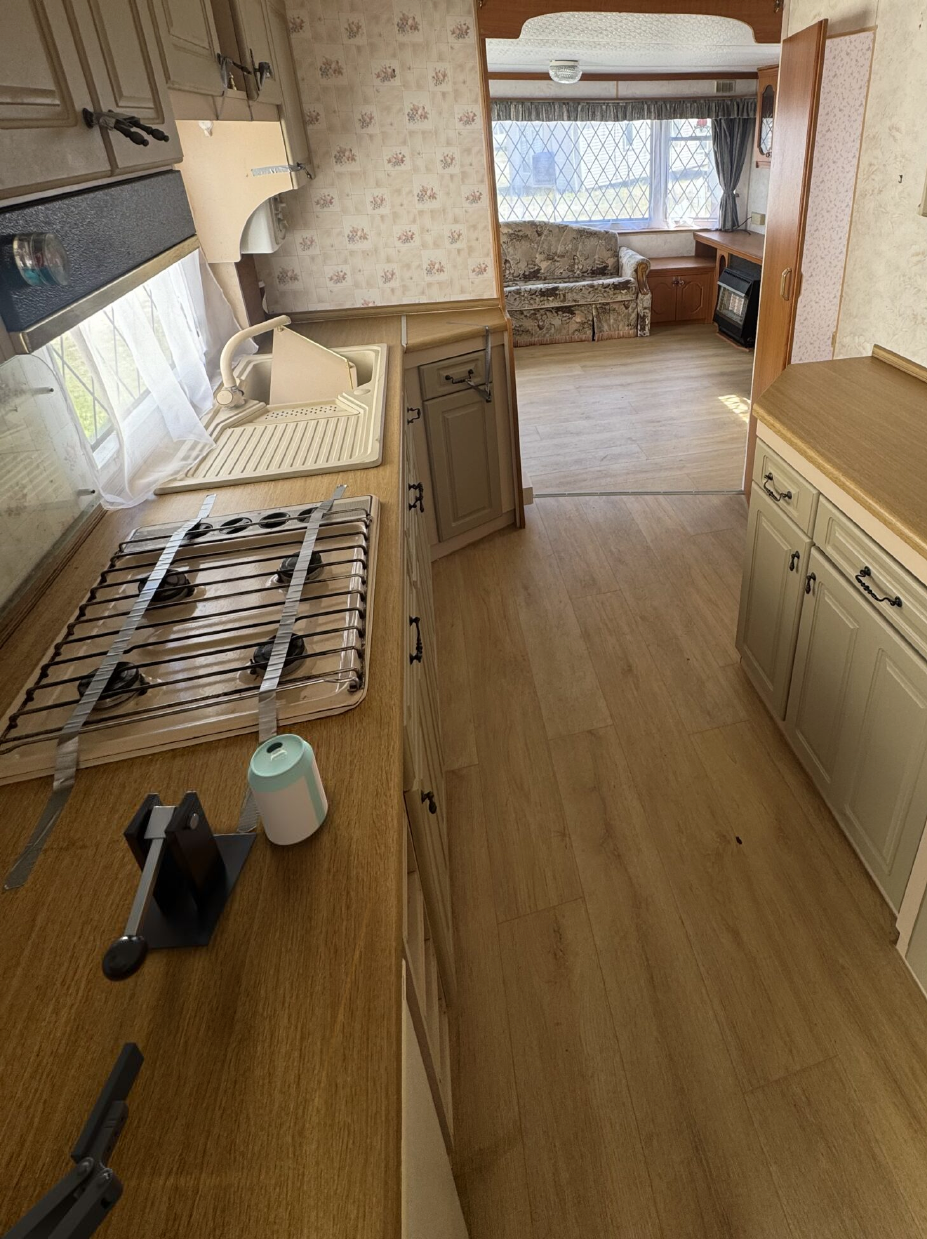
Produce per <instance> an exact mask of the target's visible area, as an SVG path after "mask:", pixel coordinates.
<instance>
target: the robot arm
mask: <svg viewBox="0 0 927 1239" xmlns="http://www.w3.org/2000/svg"><path fill="white" fill-rule="evenodd" d="M145 1060H146V1058H145V1056H144V1055H143V1053H142V1051H141V1049H140V1048H139V1046H138V1045H137V1043H136V1041H129V1042H128V1041H127V1042H124V1044H123V1047H122V1048H121V1050H120V1053H119V1055H118V1057H117V1059H116V1061H115V1063H114V1065H113V1068H112V1069H111V1071H110V1073H109V1076H108V1077H107V1079H106V1082H105V1084H104V1086H103V1088H102V1089H101V1092H100V1094H99V1096H98V1097H97V1100H96V1102H95V1104H94V1106H93V1108H92V1110H91V1112H90V1114H89V1116H88V1118H87V1120H86V1123H85V1125H84V1127H83V1128H82V1131H81V1133H80V1135H79V1136H78V1139H77V1141H76V1142H75V1145H74V1147H73V1149H72V1151H71V1153H70V1155H69V1157H70V1158H71V1159H72V1161H73V1162H74V1164H75V1166H74V1167H73V1168H72V1169H71V1170H70V1171H69V1172H67V1173H66V1174H65V1175H64V1176H63V1178H61V1179H60V1180H59V1181H58V1182H57V1183H56V1185H54V1186H53V1187H52V1188H51V1189H50V1190H49V1191H48V1192H47V1193H46V1194H45V1195H44V1196H43V1197H42V1198H41V1199H40V1200H38V1202H36V1203H35V1204H34V1205H33V1207H31V1208H30V1209H29V1210H28V1211H27V1212H26V1213H25V1214H24V1215H23V1216H22V1217H21V1218H19V1220H18V1221H17V1222H16V1223H15V1224H13V1225H12V1227H11V1228H9V1229H8V1230H7V1231H6V1232H5V1233H4V1234H3V1235H2V1236H1V1237H0V1239H91V1238H92V1237H93V1235H94V1234H95V1232H96V1231H97V1230H98V1228H99V1227H100V1226H101V1224H102V1223H103V1222H104V1220H105V1219H106V1218H107V1216H108V1215H109V1213H110V1212H111V1211H112V1210H113V1208H114V1207H115V1206H116V1205H117V1203H118V1202H119V1201H120V1199H121V1197H122V1195H123V1193H124V1185H123V1183H122V1182H121V1179H120V1178H119V1177H118V1176H117V1175H116V1173H115V1171H113V1169H112V1168H110V1167H108V1164H109V1162H110V1159H111V1158H112V1155H113V1152H114V1150H115V1148H116V1146H117V1143H118V1141H119V1139H120V1137H121V1135H122V1133H123V1131H124V1128H125V1126H126V1123H127V1121H128V1119H129V1114H130V1108H129V1106H128V1105H127V1103H126V1101H127V1099H128V1096H129V1095H130V1093H131V1091H132V1088H133V1086H134V1084H135V1081H136V1080H137V1077H138V1075H139V1073H140V1071H141V1069H142V1066H143V1064H144V1062H145Z"/></svg>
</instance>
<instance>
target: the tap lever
mask: <svg viewBox="0 0 927 1239" xmlns="http://www.w3.org/2000/svg"><path fill="white" fill-rule="evenodd" d="M177 808H178V806H176V805H170V806H163V807H154V808H153V811H152V814H151V817H150V820H149V823H148V827H147V830H146V833H145V836H144V838H145V839H152V840H153V841H152V844H151V848H150V851H149V854H148V857H147V861H146V864H145V867H144V870H143V874H142V873H141V878H140V881H139V884H138V887H137V891H136V894H135V897H134V900H133V904H132V907H131V910H130V913H129V916H128V920H127V923H126V927H125V930H124V933H123V935H122V936H121V937H119V938H117V939H115V941H113V942H112V943H111V944H110V946H109V947H108V948H107V949H106V951H105V953H104V955H103V957H102V961H101V972H102V976H103V977H104V978H105V979H106V980H108V981H109V982H113V983H119V982H124V981H126V980H128V979H130V978H132V977H134V976H135V975H136V974H137V973H138V972H139V971H140V970H141V969H142V967H143V966H144V965H145V963H146V962H147V958H148V956H149V949H148V943H147V940H146V939H145V938H144V937H143V936H142V935H140V934H141V931H142V927H143V924H144V920H145V917H146V914H147V910H148V907H149V903H150V900H151V896H152V893H153V890H154V886H155V883H156V879H157V876H158V873H159V869H160V866H161V862H162V859H163V856H164V852H165V849H166V845H167V842H168V840H167V838H166V835H165V833H164V830H165V828H166V827H167V825H168V823H169V822H170V820H171V818H172V816H173V815H174V813H175V811H176V810H177Z"/></svg>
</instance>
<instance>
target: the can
mask: <svg viewBox="0 0 927 1239" xmlns="http://www.w3.org/2000/svg"><path fill="white" fill-rule="evenodd" d="M249 764H250V765H249V767H248V771H247V782H248V786H249V788H250V792H251V794H252V797H253V800H254V802H255V805H256V809H257V812H258V814H259V817H260V820H261V823H262V826H263V829H264V832H265V834H266V836H267V838H268V839H269V840H270V841H271V842H272V843H274V844H276V845H280V846H287V845H292V844H297V843H299V842H302V841H304V840H306V839H307V838H308V837H310V836H311V835H312V834H314V832H316V831H317V830H318V829H319V827H321V825H322V824H323V822H324V820H325V818H326V817H327V814H328V809H329V808H328V801H327V797H326V796H327V795H326V794H325V789H324V786H323V782H322V779H321V775H320V772H319V768H318V765H317V760H316V757H315V754H314V750H313V747H312V746H311V745H310V744H309V743H308V742H307V741H305V740H304V739H303V738H302V737H301V736H299V735H296V734H293V733H292V734H291V733H286V734H280V735H277V736H274V737H272V738H270V739H268V740H266V741H265V742H264V743H262V744H261V745H260V746H259V747H258V748H257V749H256V751H255V752H254V754H253V755H252V757H251V759H250V763H249Z"/></svg>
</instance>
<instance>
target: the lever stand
mask: <svg viewBox="0 0 927 1239" xmlns="http://www.w3.org/2000/svg"><path fill="white" fill-rule="evenodd" d="M163 804H164V803H162V800H161V797H160V796H159V793H158V792H155V793H147V795H146V797H145V798H144V800H143V801H142V803H141V805H140V806H139V808H138V810H137V811H136V812H135V814H134V816H132V819H131V820H130V822H129V823H128V825H127V826H126V828H125V830H124V831H123V833H122V834H123V837H124V839H125V841H126V843H127V845H128V847H129V849H130V851H131V853H132V856H133V858H134V859H135V861H136V863H137V866H138V868H139V870H140V872H141V875H142V874H143V870H144V867H145V864H146V861H147V857H148V854H149V851H150V848H151V844H152V841H153V840H152V839H145V838H144V836H145V833H146V830H147V827H148V823H149V820H150V817H151V814H152V811H153V808H154V807H164V805H163ZM177 807H178V808H177V810H176V811H175V813H174V815H173V816H172V818H171V820H170V822H169V823H168V825H167V827H166V828H165V830H164V833H165V835H166V838H167V840H168V842H167V845H166V849H165V852H164V856H163V859H162V862H161V866H160V869H159V873H158V876H157V879H156V883H155V886H154V890H153V893H152V896H151V900H150V903H149V907H148V910H147V914H146V917H145V920H144V924H143V927H142V931H141V934H140V935H142V936H143V937H144V938H145V939H146V940H147V943H148V950H159V949H176V948H192V947H194V948H195V947H208V946H209V943H210V942H211V939H212V937H213V934H214V932H215V930H216V928H217V927H218V926H217V925H218V924H219V921H220V919H221V917H222V914H223V913H224V910H225V908H226V905H227V904H228V902H229V899H230V897H231V895H232V893H233V890H234V888H235V885H236V884H237V882H238V879H239V877H240V874H241V872H242V870H243V867H244V865H245V864H246V861H247V859H248V857H249V854H250V852H251V851H252V848H253V845H254V843H255V841H256V839H257V837H258V834H259V833H258V832H249V833H248V832H246V833H228V834H214V833H213V831H212V828H211V826H210V823H209V820H208V818H207V815H206V813H205V811H204V807H203V806H202V803H201V800H200V797H199V795H198V793H197V791H186V792H185V794H184V796H183V798H182V799H181V801H180V803H179V804H178V806H177Z"/></svg>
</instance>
